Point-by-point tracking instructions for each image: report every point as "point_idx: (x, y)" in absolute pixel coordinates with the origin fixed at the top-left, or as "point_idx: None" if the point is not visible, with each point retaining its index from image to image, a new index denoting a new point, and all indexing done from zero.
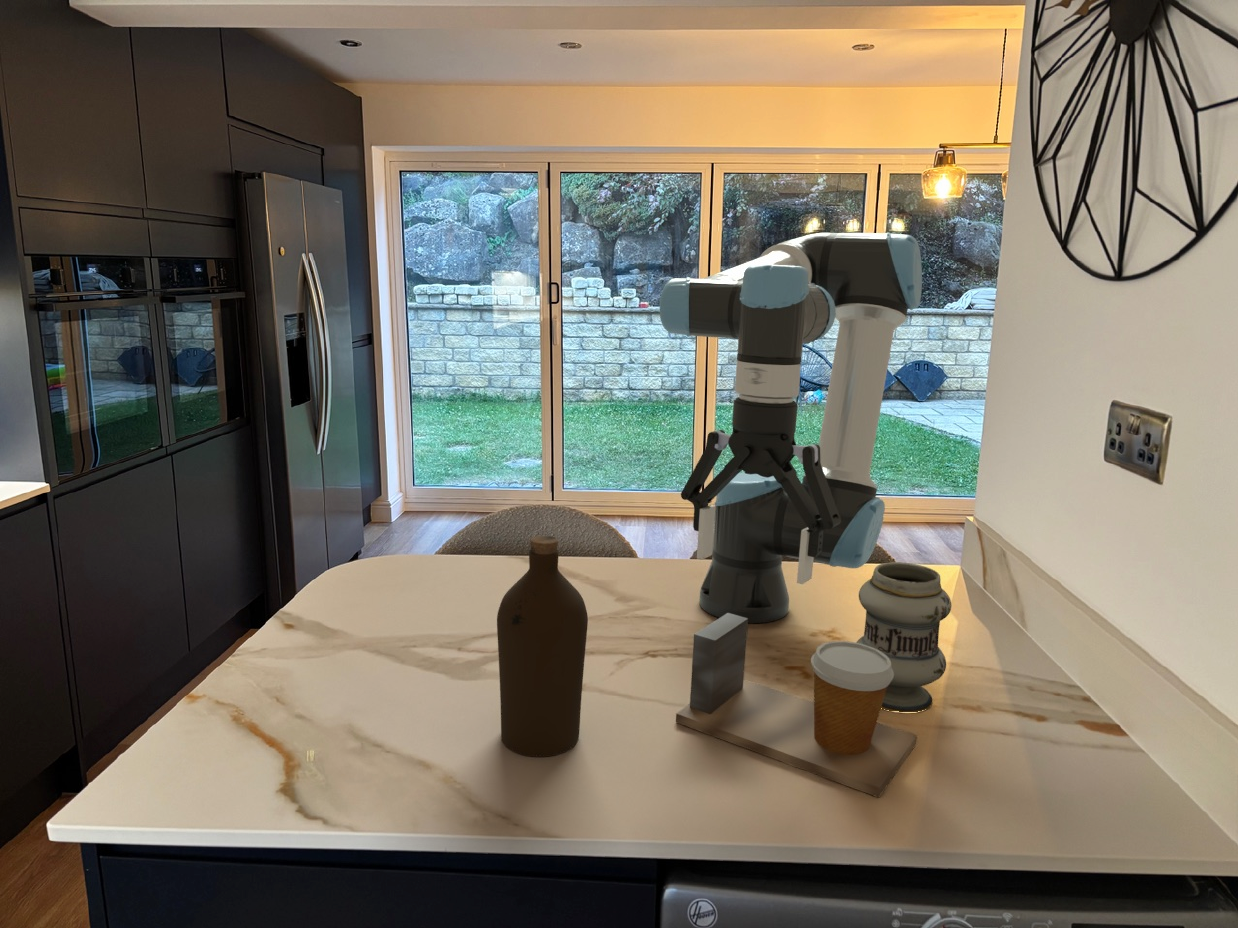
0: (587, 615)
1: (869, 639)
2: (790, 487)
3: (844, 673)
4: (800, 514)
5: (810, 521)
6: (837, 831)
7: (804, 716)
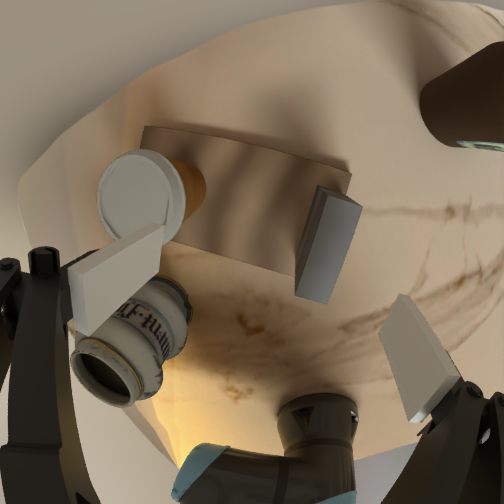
0: (494, 101)
1: (158, 322)
2: (23, 405)
3: (135, 153)
4: (55, 309)
5: (41, 285)
6: (174, 69)
7: (221, 220)
